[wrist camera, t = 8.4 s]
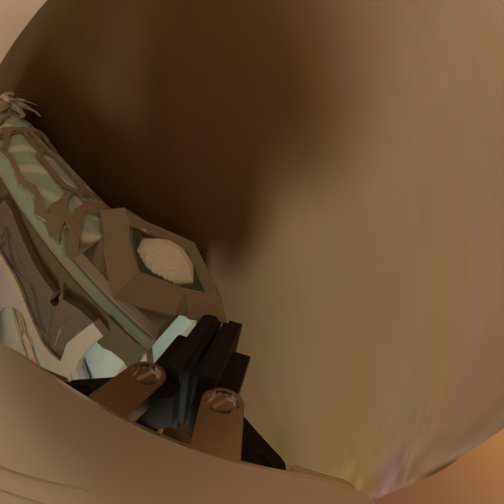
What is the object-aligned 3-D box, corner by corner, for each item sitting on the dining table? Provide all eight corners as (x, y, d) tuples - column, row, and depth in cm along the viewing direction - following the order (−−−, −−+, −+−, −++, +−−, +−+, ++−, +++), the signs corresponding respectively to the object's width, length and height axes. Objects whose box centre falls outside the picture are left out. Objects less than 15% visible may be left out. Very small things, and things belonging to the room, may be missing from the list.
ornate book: (269, 278, 16) (23, 74, 15) (240, 387, 7) (-48, 60, 6) (127, 428, 22) (-30, 247, 21) (85, 492, 13) (-82, 266, 12)
